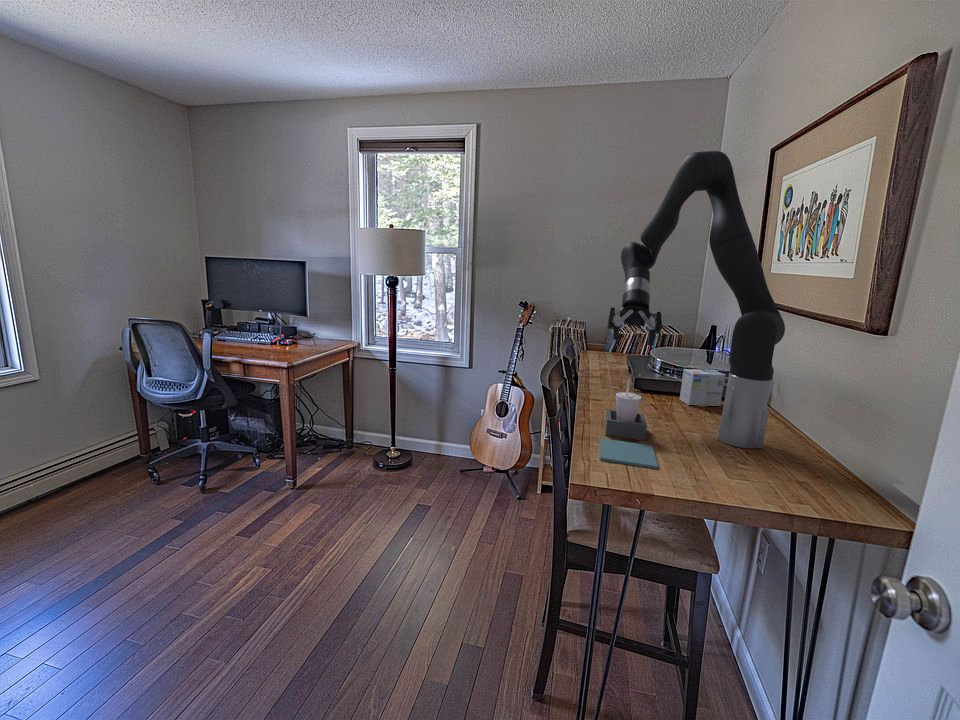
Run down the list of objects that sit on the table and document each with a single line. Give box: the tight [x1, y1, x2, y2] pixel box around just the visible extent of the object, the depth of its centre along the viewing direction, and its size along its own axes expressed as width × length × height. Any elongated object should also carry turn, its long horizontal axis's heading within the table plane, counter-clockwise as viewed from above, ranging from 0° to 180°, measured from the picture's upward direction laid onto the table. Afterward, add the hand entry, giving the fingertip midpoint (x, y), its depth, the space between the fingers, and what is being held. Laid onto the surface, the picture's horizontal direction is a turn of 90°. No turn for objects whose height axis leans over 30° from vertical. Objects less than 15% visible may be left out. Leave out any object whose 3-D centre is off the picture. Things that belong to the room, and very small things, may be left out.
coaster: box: [599, 437, 659, 470], centre depth 106 cm, size 12×12×1 cm
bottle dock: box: [604, 408, 648, 441], centre depth 120 cm, size 10×10×4 cm
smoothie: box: [615, 378, 642, 422], centre depth 119 cm, size 6×6×14 cm
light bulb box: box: [679, 368, 726, 407], centre depth 149 cm, size 11×7×11 cm, turn 94°
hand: (633, 341), depth 127 cm, fingers open, 8 cm apart
